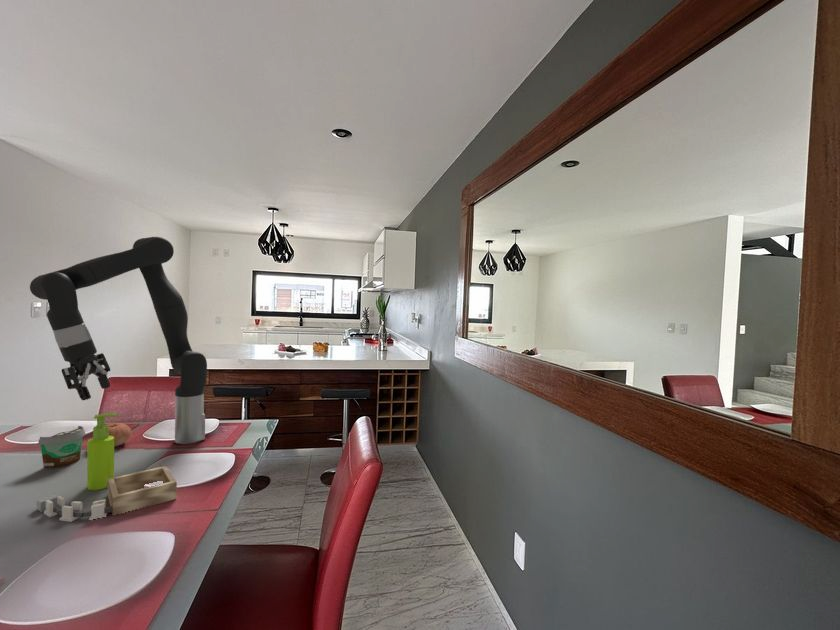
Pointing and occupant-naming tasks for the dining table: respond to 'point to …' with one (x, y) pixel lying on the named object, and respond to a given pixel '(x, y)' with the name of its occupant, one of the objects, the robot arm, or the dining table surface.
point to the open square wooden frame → (141, 490)
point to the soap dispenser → (100, 454)
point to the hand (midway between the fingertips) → (96, 393)
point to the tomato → (119, 433)
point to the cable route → (71, 508)
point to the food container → (62, 448)
